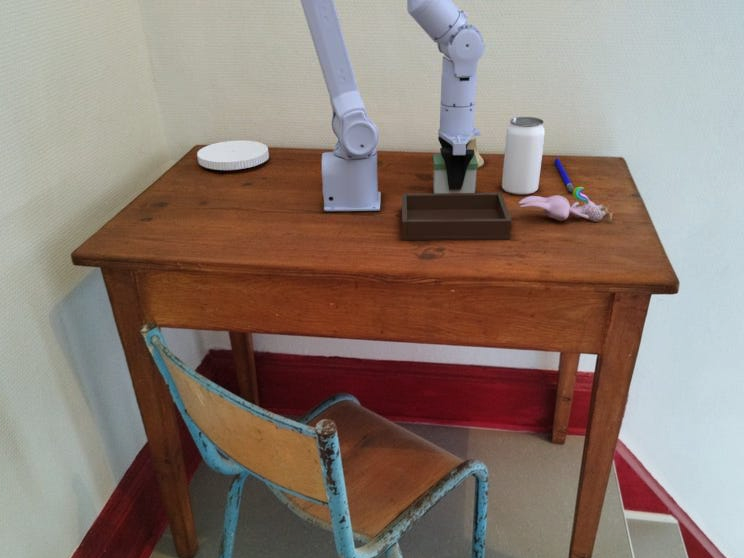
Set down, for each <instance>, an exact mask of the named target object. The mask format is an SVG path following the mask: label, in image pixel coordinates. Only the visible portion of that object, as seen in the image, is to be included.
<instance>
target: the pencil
mask: <svg viewBox="0 0 744 558" xmlns="http://www.w3.org/2000/svg"><path fill="white" fill-rule="evenodd" d="M554 164H555V166H556V169H557V170H558V172H559V174H560V177H561V178H562V181H563V182H564V185H565V187H566V188H567V191H568V193H573V191H574V189H575V187H574V186H573V183H572V181H571V180H570V177H569V176H568V174H567V172H566V170H565V168H564V167H563V164H562V162H561V160H560V159H559V158H555V159H554Z"/></svg>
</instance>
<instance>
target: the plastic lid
mask: <svg viewBox="0 0 744 558" xmlns="http://www.w3.org/2000/svg"><path fill="white" fill-rule="evenodd" d="M196 157H197V162H198V164H199V165H200V166H201V167H203V168H205V169H210V170H214V171H215V170H217V171H218V170H219V171H236V170H241V169H242V170H243V169H247V168H248V169H249V168H252V167H256V166H258V165H259V166H260V165H262V164H264V163H265V162H267V161H268V160H269V158H270V153H269V147H268V146H267V145H266V144H265V143H263V142H259V141H254V140H243V139H242V140H241V139H240V140H238V139H237V140H227V141H219V142H215V143H212V144H208V145H206V146H203V147H201V148H200V149H199V150H198V151H197V152H196Z"/></svg>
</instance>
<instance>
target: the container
mask: <svg viewBox="0 0 744 558" xmlns="http://www.w3.org/2000/svg"><path fill="white" fill-rule="evenodd" d="M432 164H433V179H432V180H433V181H432V183H433V185H432V187H433V193H476V183H477V181H476V180H477V170H478V168H479V167H478V162H477V159H476V155H475V154H474V156H473V158H472V159H471V161H470V163H469V165H468V168H467V170H466V174H465V178H464V182H463V185H462V188H461V190H449V186H448V180H447V171H446V165H445V162H444V159H443V157H442V155H441V153H433V154H432Z"/></svg>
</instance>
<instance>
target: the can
mask: <svg viewBox="0 0 744 558" xmlns="http://www.w3.org/2000/svg"><path fill="white" fill-rule="evenodd" d="M545 133H546V130H545V127H544V120H543V119H541V118H540V117H534V116H517V117H513V118H511V119H510V120H509V125H508V127H507V129H506V133H505V145H504V154H503V155H504V157H503V167H502V179H501V188H502V190H503V191H504V192H506V193H508V194H510V195H515V196H528V195H533V194H535V193H536V192H537V191H538V190H539V185H540V176H541V169H542V160H543V152H544V143H545V135H546V134H545Z"/></svg>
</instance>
